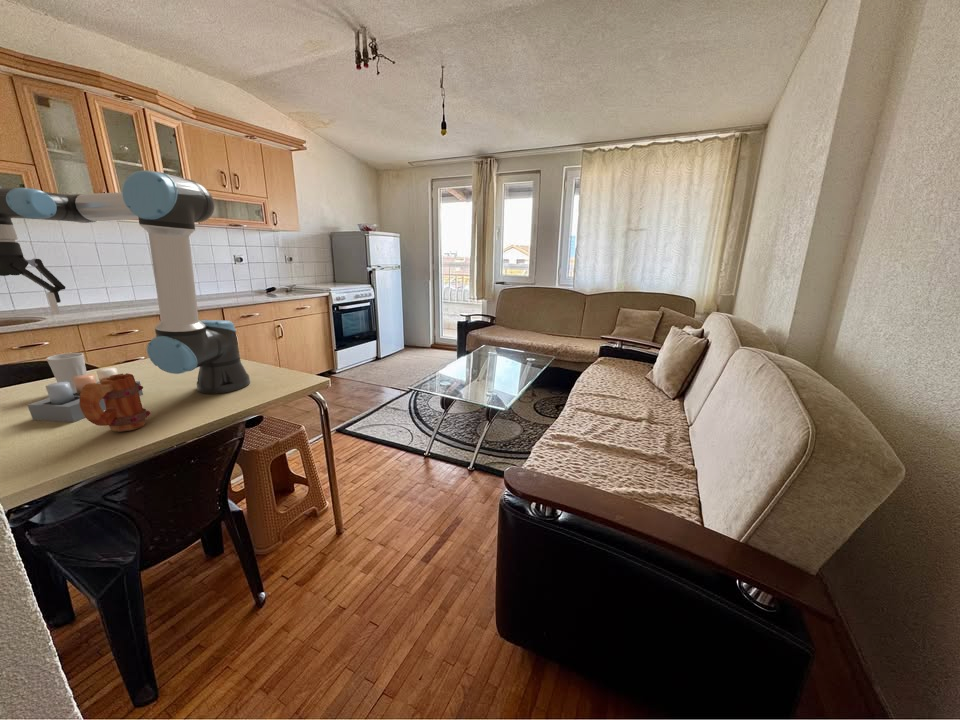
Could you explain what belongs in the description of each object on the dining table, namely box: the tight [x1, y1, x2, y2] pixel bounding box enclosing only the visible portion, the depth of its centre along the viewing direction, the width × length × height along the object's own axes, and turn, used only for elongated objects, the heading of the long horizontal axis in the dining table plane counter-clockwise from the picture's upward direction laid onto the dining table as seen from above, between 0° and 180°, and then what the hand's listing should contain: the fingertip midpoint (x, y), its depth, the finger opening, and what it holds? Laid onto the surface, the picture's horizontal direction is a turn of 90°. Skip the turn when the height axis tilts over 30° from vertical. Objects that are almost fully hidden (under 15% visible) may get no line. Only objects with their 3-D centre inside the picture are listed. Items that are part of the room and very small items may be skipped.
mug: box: [80, 372, 151, 433], centre depth 93 cm, size 15×8×15 cm, turn 5°
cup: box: [45, 352, 88, 390], centre depth 119 cm, size 8×8×12 cm
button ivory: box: [96, 367, 119, 382], centre depth 114 cm, size 4×4×5 cm
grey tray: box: [27, 380, 144, 423], centre depth 109 cm, size 12×20×4 cm, turn 176°
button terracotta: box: [73, 373, 98, 395], centre depth 108 cm, size 4×4×5 cm
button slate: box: [45, 382, 75, 405], centre depth 102 cm, size 4×4×5 cm
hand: (23, 317), depth 107 cm, fingers open, 13 cm apart
